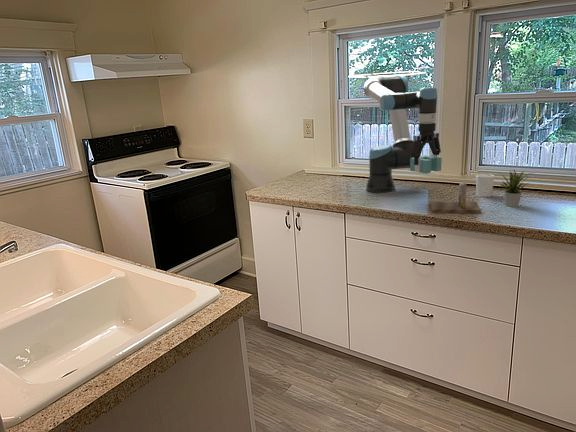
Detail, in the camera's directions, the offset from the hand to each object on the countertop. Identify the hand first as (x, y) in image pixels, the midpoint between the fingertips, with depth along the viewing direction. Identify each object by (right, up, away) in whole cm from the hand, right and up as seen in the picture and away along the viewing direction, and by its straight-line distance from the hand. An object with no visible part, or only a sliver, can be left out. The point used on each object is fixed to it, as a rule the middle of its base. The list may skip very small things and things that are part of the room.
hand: (425, 170), depth 207 cm
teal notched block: (0, 0, 0) cm, 0 cm away
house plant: (+35, -18, -14) cm, 42 cm away
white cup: (+30, -12, +5) cm, 33 cm away
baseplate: (+9, -19, -13) cm, 24 cm away
